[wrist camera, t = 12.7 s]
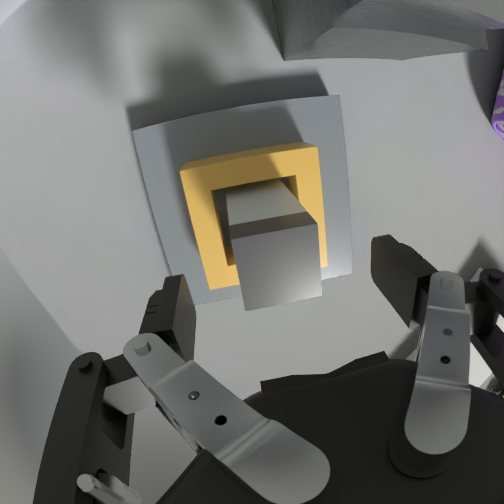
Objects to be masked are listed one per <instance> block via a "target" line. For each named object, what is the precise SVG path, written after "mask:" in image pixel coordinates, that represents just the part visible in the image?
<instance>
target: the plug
mask: <svg viewBox="0 0 504 504" xmlns="http://www.w3.org/2000/svg"><path fill="white" fill-rule="evenodd" d="M225 192H226V201H227V210H228V220H229V229H230V238H231V244H232V248H233V253H234V258H235V263H236V268H237V273H238V277H239V282H240V287H241V292H242V296H243V301H244V306H245V310H246V311H249V310H254V309H259V308H264V307H269V306H274V305H279V304H284V303H289V302H294V301H299V300H303V299H308V298H313V297H317V296H322V285H321V266H320V249H319V234H318V223H317V222H316V221H315V220H314V219H313V217H312V216H311V215H310V214H309V213H308V212H307V210H306V209H305V208H304V207H303V206H302V205H301V203H300V202H299V201H298V200H297V199H296V198H295V196H294V195H293V194H292V193H291V192H290V191H289V190H288V188H287V187H286V186H285V185H284V184H283V183H282V182H281V181H280V179H279V178H274V179H268V180H263V181H257V182H252V183H246V184H241V185H236V186H231V187H226V188H225Z"/></svg>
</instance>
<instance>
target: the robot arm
mask: <svg viewBox="0 0 504 504" xmlns="http://www.w3.org/2000/svg"><path fill="white" fill-rule="evenodd" d="M371 276H372V279H373V281H374V283H375V284H376V286H377V287H378V288H379V290H380V291H381V292H382V293H383V295H384V296H385V297H386V299H387V300H388V301H389V302H390V304H391V305H392V306H393V308H394V309H395V310H396V312H397V313H398V314H399V316H400V317H401V318H402V320H403V321H404V322H405V324H406V325H407V326H408V328H409V329H410V328H413V327H416V326H419V325H420V326H421V330H420V335H419V340H418V345H417V350H416V355H415V360H414V361H411V360H406V359H389V358H388V357H387V355H386V353H385V352H384V351H382V352H379V353H376V354H372V355H369V356H366V357H362V358H359V359H356V360H354V361H352V362H350V363H348V364H346V365H344V366H342V367H340V368H338V369H336V370H334V371H332V372H330V373H327V374H313V375H290V376H286V377H281V378H276V379H271V380H265V381H260V383H261V390H262V391H260V392H257V393H255V394H253V395H251V396H249V397H248V398H246V399H245V400H243V401H242V400H241V399H239V398H238V397H237V396H236V395H234V394H233V393H232V392H231V391H229V390H228V389H227V388H226V387H224V386H223V385H222V384H221V383H219V382H218V381H217V380H216V379H215V378H213V377H212V376H211V375H210V374H209V373H207V372H206V371H205V370H204V369H203V368H202V367H200V366H199V365H198V364H197V363H196V362H194V361H193V360H194V344H195V329H196V311H195V306H194V303H193V300H192V297H191V294H190V290H189V287H188V284H187V281H186V278H185V276H184V274H179V275H174V276H169V277H166V278H165V281H164V285H163V289H162V290H157V291H155V292H154V294H153V295H152V296H151V297H150V298H149V301H148V304H147V308H146V311H145V315H144V317H143V321H142V324H141V328H140V331H139V335H137V336H135V337H133V338H132V339H130V340H129V341H128V342H127V343H126V345H125V346H124V349H123V354H122V355H119V356H116V357H114V358H111V359H108V360H105V361H104V360H103V359H102V357H101V355H99V354H98V353H95V352H88V353H85V354H82V355H80V356H79V357H77V358H76V359H75V360H74V361H73V362H72V363H71V365H70V367H69V370H68V372H67V375H66V378H65V381H64V384H63V387H62V390H61V393H60V396H59V399H58V402H57V405H56V409H55V412H54V415H53V419H52V422H51V425H50V429H49V433H48V437H47V440H46V444H45V448H44V452H43V456H42V461H41V464H40V469H39V474H38V479H37V483H36V489H35V494H34V500H33V504H142V501H141V499H140V497H139V495H138V494H137V493H136V492H135V491H133V490H132V489H131V488H129V474H130V459H131V458H130V457H131V446H132V435H133V425H134V415H135V412H137V411H140V410H142V409H145V408H148V407H151V406H155V407H156V408H157V409H158V411H159V412H160V413H161V414H162V415H163V417H164V418H165V419H166V420H167V421H168V423H169V424H170V425H171V426H172V427H173V428H174V429H175V431H176V432H177V433H178V434H179V435H180V436H181V437H182V439H183V440H184V441H185V442H186V443H187V445H188V446H189V447H190V448H191V449H192V451H193V452H194V453H195V454H196V455H197V456H196V457H195V458H194V459H193V461H192V462H191V463H190V464H189V466H188V467H187V468H186V469H185V470H184V472H183V473H182V474H181V475H180V476H179V477H178V479H177V480H176V481H175V482H174V483H173V485H172V486H171V487H170V488H169V489H168V490H167V491H166V492H165V494H164V495H163V496H162V497H161V498H160V499H159V500H158V501H157V503H156V504H504V397H501V396H499V395H496V394H494V393H491V392H489V391H486V390H484V389H481V388H479V387H476V386H474V385H471V384H469V368H470V342H471V343H472V344H473V346H474V347H475V348H476V350H477V351H478V353H479V354H480V355H481V357H482V358H483V360H484V361H485V362H486V364H487V365H488V367H489V368H490V370H491V371H492V372H493V374H494V375H495V377H496V378H497V380H498V381H499V383H500V384H501V386H502V387H503V389H504V332H503V331H502V330H501V329H500V328H499V326H498V325H497V324H496V323H497V320H498V318H499V315H501V316H502V317H503V318H504V273H503V272H501V271H499V270H496V269H485V270H482V271H481V272H480V275H479V280H478V281H477V282H464V281H463V279H462V278H461V277H460V276H459V275H457V274H456V273H453V272H449V271H438V270H437V269H435V268H434V267H433V266H432V265H431V264H430V263H429V262H428V261H426V260H425V259H423V257H422V256H421V255H420V254H418V253H417V252H416V251H415V250H414V249H413V248H412V247H410V246H407V245H405V244H403V243H399V242H398V241H397V240H395V239H394V238H393V237H392V236H391V235H389V234H388V235H383V236H378V237H374V238H373V239H372V242H371Z"/></svg>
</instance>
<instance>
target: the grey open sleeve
mask: <svg viewBox="0 0 504 504" xmlns="http://www.w3.org/2000/svg"><path fill="white" fill-rule="evenodd" d="M272 3H273V8H274V12H275V17H276V22H277V27H278V32H279V37H280V42H281V47H282V53H283V58H284V61H287V60H300V59H318V58H379V59H396V60H404V59H411V58H417V57H424V56H431V55H440V54H449V53H459V52H473V51H489V47H488V41H487V36H486V31H485V30H492V29H504V0H272Z"/></svg>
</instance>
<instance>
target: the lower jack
mask: <svg viewBox="0 0 504 504" xmlns="http://www.w3.org/2000/svg"><path fill="white" fill-rule="evenodd" d="M132 132H133V137H134V141H135V145H136V150H137V154H138V158H139V162H140V166H141V170H142V174H143V178H144V182H145V186H146V190H147V193H148V197H149V201H150V204H151V208H152V212H153V215H154V219H155V222H156V226H157V229H158V232H159V236H160V239H161V242H162V246H163V249H164V252H165V255H166V259H167V262H168V265H169V268H170V271H171V274H172V276H174V275H179V274H184V276H185V278H186V281H187V284H188V287H189V290H190V294H191V297H192V300H193V303H194V305H199V304H204V303H210V302H215V301H221V300H226V299H231V298H236V297H242V292H241V287H240V282H239V277H238V273H237V268H236V263H235V258H234V253H233V248H232V244H231V238H230V229H229V220H228V210H227V201H226V192H225V188H226V187H231V186H236V185H241V184H246V183H252V182H257V181H263V180H268V179H274V178H279V179H280V181H281V182H282V183H283V184H284V185H285V186H286V187H287V188H288V190H289V191H290V192H291V193H292V194H293V195H294V196H295V198H296V199H297V200H298V201H299V202H300V203H301V205H302V206H303V207H304V208H305V209H306V210H307V212H308V213H309V214H310V215H311V216H312V217H313V219H314V220H315V221H316V222H317V223H318V234H319V249H320V266H321V280H323V279H328V278H332V277H337V276H341V275H346V274H350V273H352V248H351V216H350V197H349V181H348V168H347V156H346V146H345V136H344V127H343V118H342V110H341V103H340V95H331V96H317V97H306V98H296V99H287V100H279V101H271V102H264V103H257V104H250V105H244V106H238V107H232V108H227V109H221V110H216V111H211V112H206V113H201V114H197V115H192V116H188V117H183V118H179V119H175V120H171V121H167V122H163V123H159V124H155V125H152V126H148V127H144V128H141V129H137V130H134V131H132Z"/></svg>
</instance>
